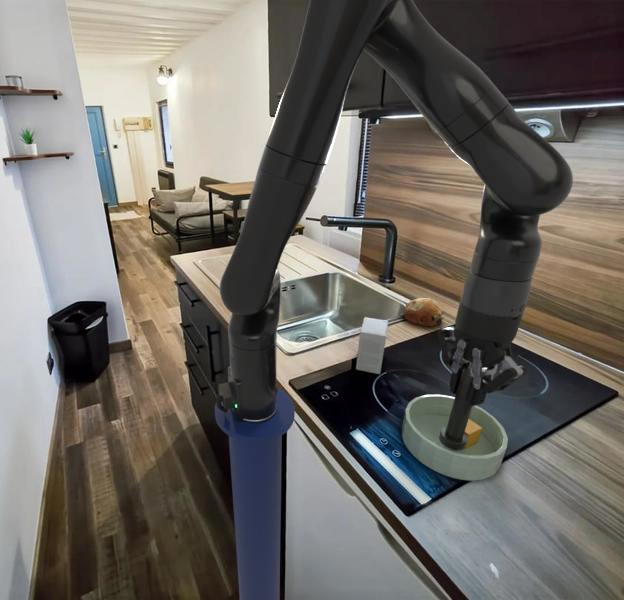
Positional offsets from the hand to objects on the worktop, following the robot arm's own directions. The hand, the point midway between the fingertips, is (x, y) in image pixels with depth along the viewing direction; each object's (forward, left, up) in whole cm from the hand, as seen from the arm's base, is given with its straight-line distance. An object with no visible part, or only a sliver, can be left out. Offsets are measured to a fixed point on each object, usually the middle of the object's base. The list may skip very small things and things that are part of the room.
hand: (464, 397), depth 59 cm
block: (+4, +1, -11) cm, 12 cm away
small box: (+3, +27, -12) cm, 30 cm away
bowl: (+1, +1, -12) cm, 12 cm away
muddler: (0, 0, -10) cm, 10 cm away
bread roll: (+31, +41, -12) cm, 53 cm away
